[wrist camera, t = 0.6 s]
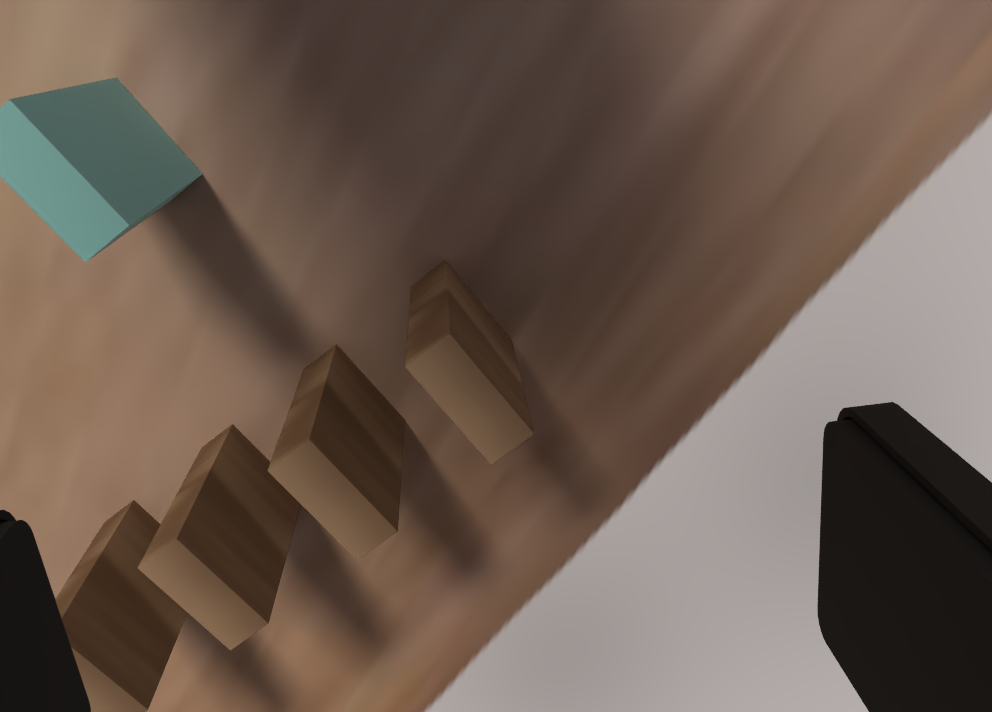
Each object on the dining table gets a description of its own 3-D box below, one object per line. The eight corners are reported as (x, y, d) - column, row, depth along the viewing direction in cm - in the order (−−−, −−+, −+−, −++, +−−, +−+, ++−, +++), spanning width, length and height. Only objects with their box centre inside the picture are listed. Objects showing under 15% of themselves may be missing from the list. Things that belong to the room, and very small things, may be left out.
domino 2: (272, 517, 45) (230, 650, 35) (201, 447, 43) (137, 568, 34) (303, 495, 44) (268, 623, 35) (232, 424, 43) (176, 538, 33)
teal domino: (168, 202, 39) (85, 262, 29) (81, 108, 37) (-36, 140, 28) (202, 174, 38) (129, 225, 29) (116, 77, 37) (9, 99, 27)
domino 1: (177, 587, 46) (112, 735, 36) (104, 522, 44) (16, 659, 35) (206, 566, 45) (147, 709, 36) (133, 500, 44) (52, 631, 34)
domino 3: (372, 443, 43) (357, 560, 34) (303, 369, 42) (267, 470, 32) (405, 420, 43) (397, 531, 34) (336, 344, 42) (309, 439, 32)
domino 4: (478, 365, 42) (491, 464, 33) (411, 286, 41) (405, 367, 31) (511, 341, 42) (534, 434, 33) (445, 260, 40) (449, 333, 31)
